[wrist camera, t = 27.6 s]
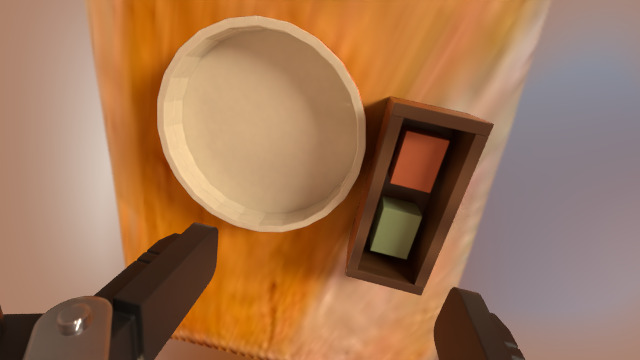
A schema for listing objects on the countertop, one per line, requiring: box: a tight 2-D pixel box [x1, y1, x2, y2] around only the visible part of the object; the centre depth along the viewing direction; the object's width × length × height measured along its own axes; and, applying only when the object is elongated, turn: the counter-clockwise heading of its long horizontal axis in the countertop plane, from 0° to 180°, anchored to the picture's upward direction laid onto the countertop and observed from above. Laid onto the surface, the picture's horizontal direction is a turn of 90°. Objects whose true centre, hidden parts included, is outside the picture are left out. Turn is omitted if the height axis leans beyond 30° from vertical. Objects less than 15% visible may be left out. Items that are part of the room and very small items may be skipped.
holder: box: [345, 96, 494, 295], centre depth 23 cm, size 14×6×5 cm, turn 168°
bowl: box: [157, 16, 366, 232], centre depth 24 cm, size 16×16×3 cm
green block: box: [370, 196, 422, 259], centre depth 24 cm, size 4×3×2 cm
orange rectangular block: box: [388, 125, 450, 193], centre depth 22 cm, size 4×3×2 cm
